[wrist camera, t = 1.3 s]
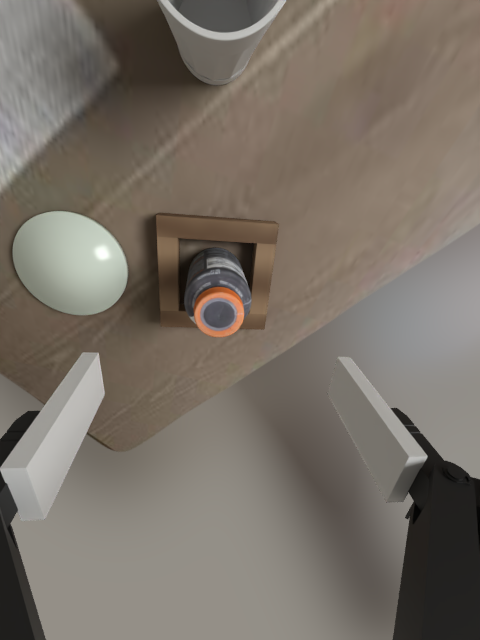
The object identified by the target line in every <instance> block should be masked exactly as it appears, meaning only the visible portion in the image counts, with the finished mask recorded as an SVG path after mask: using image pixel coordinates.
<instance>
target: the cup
mask: <svg viewBox="0 0 480 640" xmlns="http://www.w3.org/2000/svg"><path fill="white" fill-rule="evenodd" d="M157 1H158V3H159V6H160V8H161V10H162V12H163V14H164V15H165V18H166V20H167V22H168V24H169V27H170V29H171V31H172V33H173V36H174V38H175V40H176V42H177V45H178V49H179V52H180V55H181V57H182V59H183V61H184V63H185V65H186V66H187V68H188V69H189V70H190V72H191V73H192V74H193V75H194V76H195V77H197V78H198V79H199V80H201V81H203V82H205V83H207V84H211V85H224V84H227V83H229V82H231V81H233V80H235V79H236V78H237V77H238V76H239V75H240V74H241V73H242V72H243V70H244V69H245V67H246V66H247V64H248V62H249V59H250V57H251V55H252V53H253V52H254V50H255V48H256V47H257V45H258V43H259V42H260V40H261V38H262V37H263V35H264V34H265V32H266V31H267V29H268V28H269V26H270V25H271V23H272V22H273V20H274V19H275V17H276V16H277V14H278V12H279V11H280V9H281V8H282V6H283V5H284V3H285V2H286V0H157Z"/></svg>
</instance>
